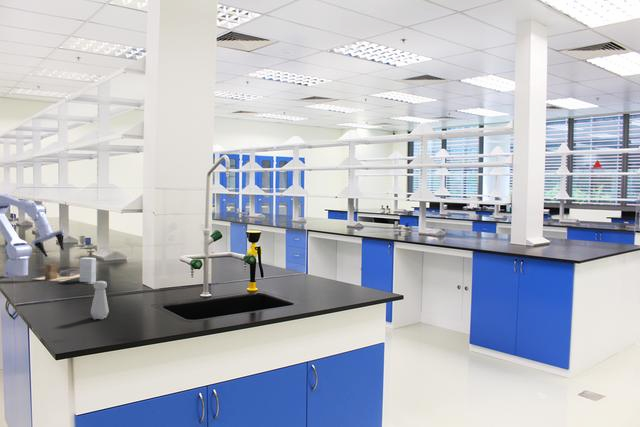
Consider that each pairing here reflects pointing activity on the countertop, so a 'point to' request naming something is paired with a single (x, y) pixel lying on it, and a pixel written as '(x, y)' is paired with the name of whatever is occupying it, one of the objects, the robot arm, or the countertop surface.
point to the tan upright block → (51, 271)
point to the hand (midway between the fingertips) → (54, 252)
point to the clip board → (64, 275)
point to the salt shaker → (99, 301)
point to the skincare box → (87, 270)
